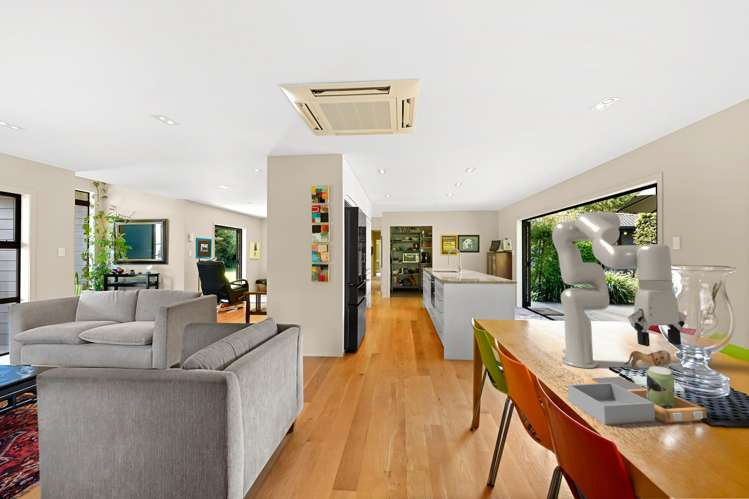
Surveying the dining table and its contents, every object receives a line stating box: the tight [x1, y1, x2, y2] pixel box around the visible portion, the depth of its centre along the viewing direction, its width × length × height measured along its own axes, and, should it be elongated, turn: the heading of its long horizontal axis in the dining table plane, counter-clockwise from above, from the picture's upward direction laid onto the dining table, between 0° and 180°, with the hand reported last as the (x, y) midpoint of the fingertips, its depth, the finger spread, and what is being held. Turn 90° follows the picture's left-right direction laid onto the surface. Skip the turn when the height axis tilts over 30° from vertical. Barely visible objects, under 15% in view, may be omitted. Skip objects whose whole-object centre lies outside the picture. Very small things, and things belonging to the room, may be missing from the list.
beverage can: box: [646, 365, 675, 409], centre depth 93 cm, size 6×7×12 cm
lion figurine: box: [623, 349, 672, 370], centre depth 123 cm, size 15×5×9 cm, turn 33°
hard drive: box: [630, 375, 685, 393], centre depth 110 cm, size 2×8×12 cm
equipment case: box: [587, 376, 708, 424], centre depth 99 cm, size 29×12×3 cm, turn 4°
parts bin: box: [567, 383, 656, 426], centre depth 92 cm, size 14×14×5 cm
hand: (659, 344), depth 93 cm, fingers open, 9 cm apart
